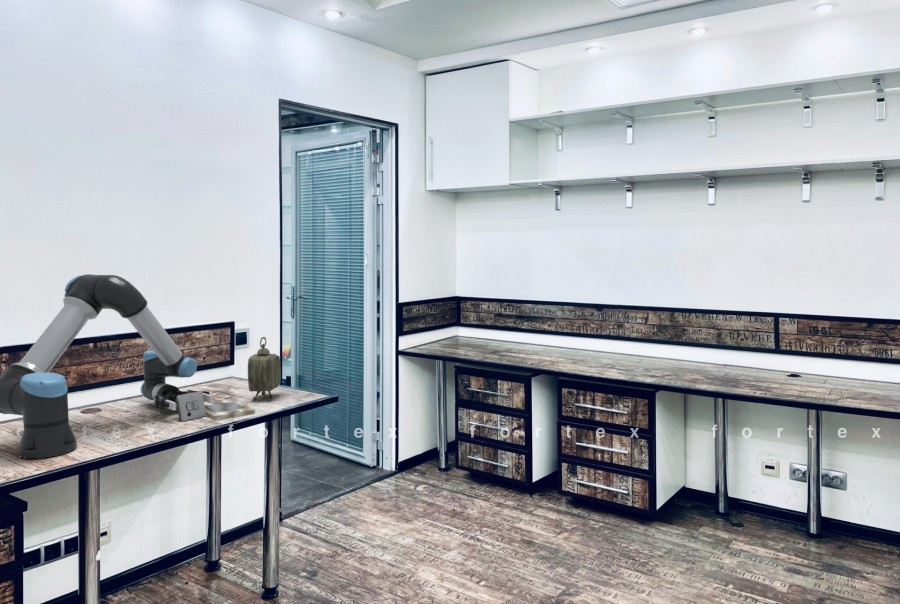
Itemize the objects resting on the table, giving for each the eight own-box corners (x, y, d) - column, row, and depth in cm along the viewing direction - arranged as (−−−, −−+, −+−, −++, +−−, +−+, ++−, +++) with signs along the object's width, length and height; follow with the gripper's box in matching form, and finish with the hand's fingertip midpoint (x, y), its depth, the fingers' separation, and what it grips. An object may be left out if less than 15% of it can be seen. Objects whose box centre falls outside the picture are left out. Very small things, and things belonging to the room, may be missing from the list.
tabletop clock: (260, 394, 270) (258, 334, 268) (282, 394, 270) (280, 334, 268) (248, 402, 256) (246, 339, 254) (271, 402, 255) (269, 339, 253)
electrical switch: (182, 422, 228) (180, 396, 228) (175, 421, 231) (172, 395, 231) (207, 416, 235) (204, 391, 235) (199, 415, 239) (197, 390, 238)
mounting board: (213, 420, 230) (213, 415, 229) (195, 408, 247) (195, 404, 247) (255, 413, 239) (255, 409, 238) (234, 402, 256) (234, 398, 256)
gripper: (198, 398, 255) (226, 406, 241) (133, 410, 237) (158, 420, 222) (197, 379, 254) (225, 386, 240) (132, 390, 236) (157, 398, 222)
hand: (193, 402), depth 231 cm, fingers open, 13 cm apart
